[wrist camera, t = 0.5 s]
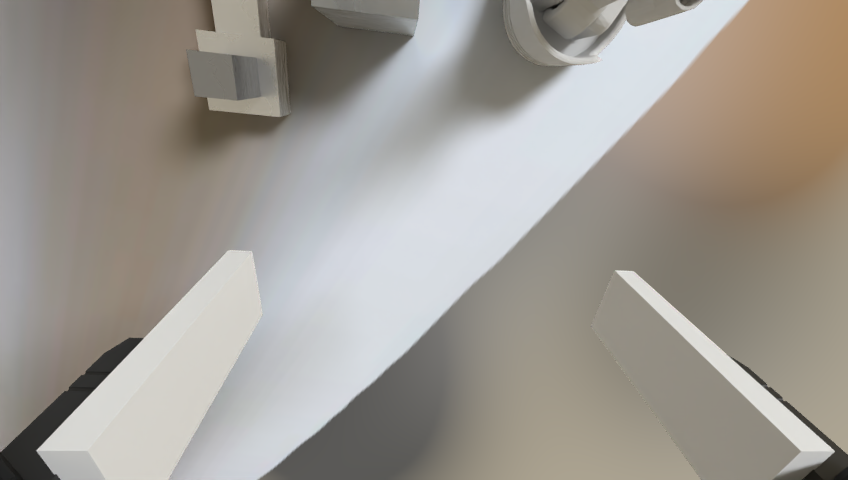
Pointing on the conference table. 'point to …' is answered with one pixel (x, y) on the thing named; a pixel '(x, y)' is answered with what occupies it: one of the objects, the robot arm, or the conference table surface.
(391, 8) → the grey textured cube
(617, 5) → the engine component
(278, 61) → the blue-grey beige mallet
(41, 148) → the conference table surface
